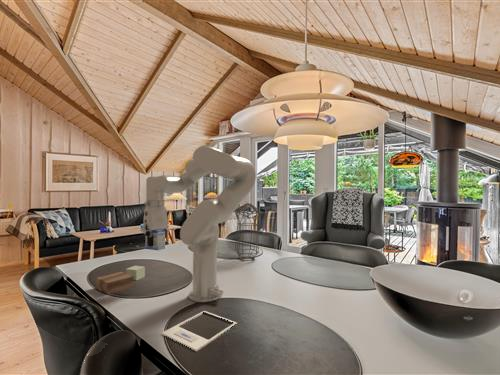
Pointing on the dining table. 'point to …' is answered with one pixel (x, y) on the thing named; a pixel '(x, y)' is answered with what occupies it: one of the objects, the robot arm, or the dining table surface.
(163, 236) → the medicine box
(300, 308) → the dining table surface
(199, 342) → the photo frame
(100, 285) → the walnut block
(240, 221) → the geometric lantern
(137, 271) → the sage block
